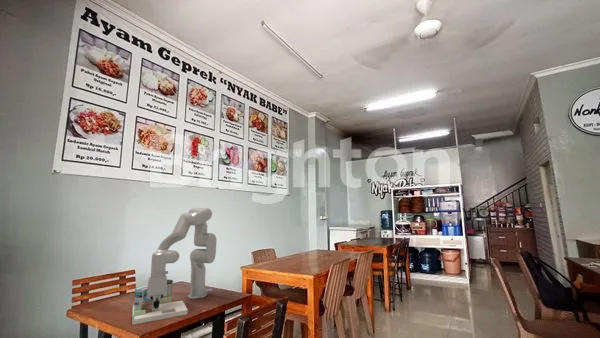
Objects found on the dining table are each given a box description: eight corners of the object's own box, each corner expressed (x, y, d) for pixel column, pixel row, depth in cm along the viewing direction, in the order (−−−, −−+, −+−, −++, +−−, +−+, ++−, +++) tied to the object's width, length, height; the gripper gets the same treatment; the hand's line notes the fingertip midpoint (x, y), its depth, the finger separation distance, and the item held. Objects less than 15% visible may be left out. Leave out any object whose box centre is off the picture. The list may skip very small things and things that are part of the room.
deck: (182, 304, 176) (182, 297, 177) (187, 314, 159) (187, 306, 160) (132, 313, 163) (132, 304, 163) (132, 324, 146) (132, 315, 146)
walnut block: (150, 309, 161) (151, 300, 161) (151, 312, 156) (152, 302, 157) (140, 311, 158) (141, 302, 159) (141, 314, 154) (141, 304, 155)
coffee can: (150, 307, 171) (151, 283, 173) (159, 302, 181) (160, 279, 183) (166, 307, 171) (168, 283, 173) (174, 302, 181) (175, 279, 183)
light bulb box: (142, 308, 171) (143, 289, 173) (133, 307, 172) (134, 289, 174) (154, 302, 181) (155, 284, 183) (145, 301, 183) (146, 284, 184)
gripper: (171, 271, 170) (169, 303, 167) (143, 274, 162) (140, 308, 160) (172, 273, 164) (171, 307, 161) (143, 277, 156) (141, 312, 153)
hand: (156, 307), depth 160 cm, fingers closed
